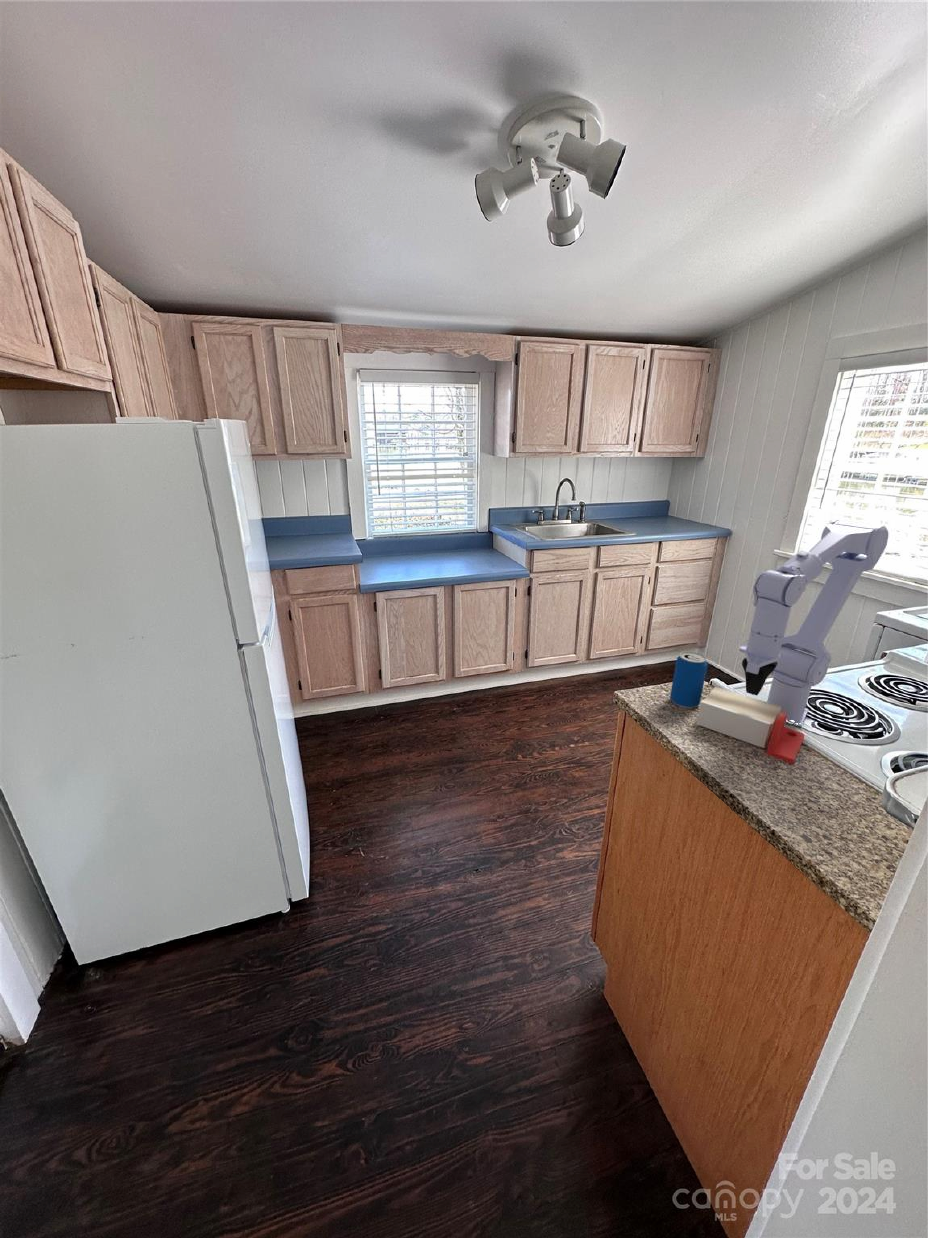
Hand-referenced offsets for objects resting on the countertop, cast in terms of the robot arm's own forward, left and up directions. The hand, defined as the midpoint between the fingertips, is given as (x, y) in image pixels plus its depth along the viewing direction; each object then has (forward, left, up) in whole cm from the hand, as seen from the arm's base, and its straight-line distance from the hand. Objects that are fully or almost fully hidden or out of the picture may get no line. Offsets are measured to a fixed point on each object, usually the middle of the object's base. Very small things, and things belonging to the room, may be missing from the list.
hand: (752, 693), depth 101 cm
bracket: (0, +8, -10) cm, 13 cm away
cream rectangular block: (-1, -2, -9) cm, 10 cm away
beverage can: (-4, -14, -10) cm, 17 cm away
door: (+4, -2, -9) cm, 10 cm away
